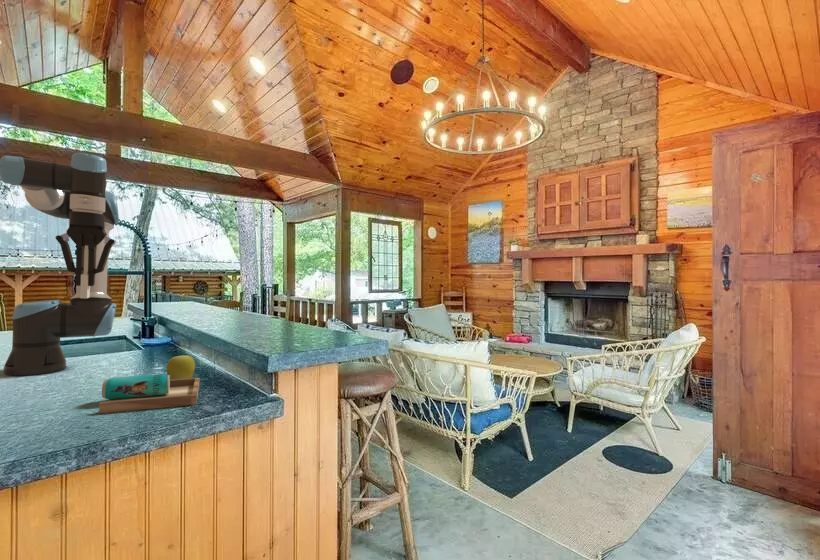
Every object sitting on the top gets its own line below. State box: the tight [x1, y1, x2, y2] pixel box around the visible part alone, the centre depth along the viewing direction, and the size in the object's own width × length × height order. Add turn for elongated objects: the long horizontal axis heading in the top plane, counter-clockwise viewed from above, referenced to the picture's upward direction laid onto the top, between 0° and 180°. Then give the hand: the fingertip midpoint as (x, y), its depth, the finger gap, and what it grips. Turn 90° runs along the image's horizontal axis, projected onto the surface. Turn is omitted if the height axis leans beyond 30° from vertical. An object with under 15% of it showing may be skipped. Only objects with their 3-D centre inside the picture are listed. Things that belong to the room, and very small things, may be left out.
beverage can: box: [101, 373, 170, 400], centre depth 108 cm, size 6×6×15 cm
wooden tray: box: [98, 377, 201, 414], centre depth 110 cm, size 18×21×2 cm
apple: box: [166, 351, 196, 380], centre depth 127 cm, size 8×8×10 cm
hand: (84, 297), depth 108 cm, fingers closed
